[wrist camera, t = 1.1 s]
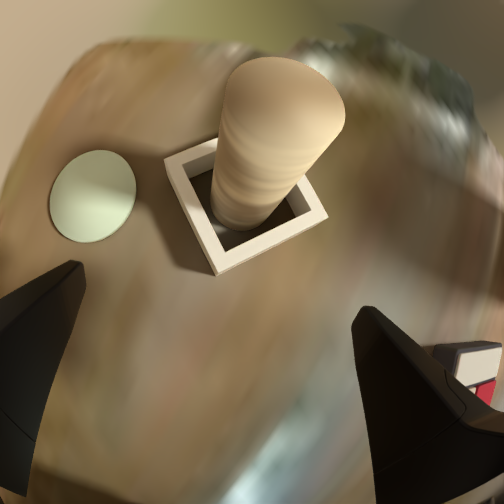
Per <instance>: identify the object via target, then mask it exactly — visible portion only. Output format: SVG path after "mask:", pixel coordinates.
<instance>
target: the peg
mask: <svg viewBox="0 0 504 504" xmlns="http://www.w3.org/2000/svg"><path fill="white" fill-rule="evenodd" d="M344 122H345V108H344V104H343V101H342V99H341V97H340V95H339V93H338V92H337V90H336V89H335V87H334V86H333V85H332V84H331V83H330V82H329V81H328V80H327V79H326V78H325V77H324V76H323V75H322V74H320V73H319V72H317V71H316V70H314V69H313V68H311V67H309V66H307V65H305V64H303V63H300V62H297V61H294V60H291V59H287V58H280V57H263V58H257V59H253V60H250V61H248V62H245V63H244V64H242V65H240V66H239V67H238V68H236V69H235V70H234V71H233V73H232V74H231V76H230V77H229V80H228V82H227V86H226V92H225V98H224V104H223V110H222V116H221V122H220V129H219V135H218V142H217V149H216V156H215V163H214V170H213V178H212V186H211V194H210V206H211V210H212V212H213V214H214V216H215V217H216V219H217V220H218V221H219V222H220V223H221V224H223V225H224V226H226V227H228V228H230V229H233V230H238V231H246V230H251V229H254V228H256V227H258V226H259V225H261V224H262V223H263V222H264V221H265V220H266V219H267V218H268V216H269V215H270V214H271V213H272V212H273V211H274V209H275V208H276V207H277V206H278V205H279V203H280V202H281V201H282V200H283V199H284V198H285V196H286V195H287V194H288V193H289V192H290V190H291V189H292V188H293V187H294V186H295V185H296V183H297V182H298V181H299V180H300V179H301V178H302V176H303V175H304V174H305V173H306V172H307V170H308V169H309V168H310V167H311V166H312V165H313V163H314V162H315V161H316V160H317V159H318V158H319V156H320V155H321V154H322V153H323V152H324V151H325V149H326V148H327V147H328V146H329V145H330V144H331V142H332V141H333V140H334V139H335V138H336V137H337V136H338V134H339V133H340V131H341V130H342V128H343V126H344Z"/></svg>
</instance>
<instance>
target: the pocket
mask: <svg viewBox="0 0 504 504" xmlns="http://www.w3.org/2000/svg"><path fill="white" fill-rule="evenodd" d="M217 142H218V138H216V139H213V140H210V141H207V142H205V143H202V144H200V145H197V146H195V147H192V148H190V149H187V150H185V151H182V152H180V153H177V154H175V155H173V156H170V157H168V158H166V159H164V163H165V167H166V172H167V176H168V178H169V181H170V183H171V185H172V187H173V189H174V191H175V194H176V196H177V198H178V200H179V202H180V204H181V206H182V209H183V211H184V213H185V215H186V217H187V219H188V221H189V223H190V225H191V227H192V229H193V231H194V234H195V236H196V238H197V240H198V242H199V244H200V246H201V248H202V250H203V252H204V254H205V256H206V258H207V260H208V262H209V264H210V266H211V268H212V270H213V272H214V274H215V276H218V275H220V274H222V273H224V272H226V271H228V270H230V269H231V268H233V267H235V266H237V265H239V264H241V263H243V262H245V261H247V260H249V259H251V258H253V257H255V256H257V255H259V254H261V253H263V252H265V251H267V250H269V249H271V248H273V247H275V246H277V245H279V244H281V243H283V242H285V241H287V240H289V239H291V238H293V237H295V236H296V235H298V234H300V233H302V232H304V231H306V230H308V229H310V228H312V227H314V226H316V225H317V224H319V223H320V222H322V221H323V220H325V219H326V218H328V215H327V213H326V211H325V209H324V208H323V206H322V204H321V202H320V200H319V199H318V197H317V195H316V193H315V191H314V190H313V188H312V186H311V184H310V183H309V181H308V179H307V178H306V176H305V174H304V175H303V176H302V178H301V179H300V180H299V181H298V182H297V183H296V185H295V186H294V187H293V188H292V189H291V190H290V192H289V193H288V194H287V195H286V196H285V198H286V200H287V201H288V203H289V205H290V207H291V209H292V211H293V212H294V214H295V216H296V218H295V219H292V220H290V221H288V222H286V223H284V224H282V225H280V226H278V227H276V228H274V229H272V230H270V231H268V232H266V233H264V234H262V235H260V236H257V237H255V238H253V239H251V240H249V241H247V242H245V243H243V244H241V245H239V246H237V247H235V248H233V249H231V250H229V251H227V252H225V251H224V249H223V247H222V245H221V243H220V241H219V239H218V237H217V235H216V233H215V231H214V229H213V227H212V225H211V223H210V221H209V219H208V217H207V215H206V213H205V211H204V209H203V207H202V205H201V203H200V201H199V199H198V197H197V195H196V193H195V191H194V189H193V187H192V185H191V183H190V181H189V178H192V177H194V176H196V175H199V174H201V173H203V172H206V171H208V170H211V169H213V168H214V163H215V156H216V149H217Z"/></svg>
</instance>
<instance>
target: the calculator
mask: <svg viewBox="0 0 504 504" xmlns="http://www.w3.org/2000/svg"><path fill="white" fill-rule="evenodd" d="M501 353H502V344H501V343H497V342H489V341H474V342H464V343H453V344H439V345H436V346H435V348H434V353H433V358H434V359H435V360H436V361H437V362H439V363H440V364H441V365H442V366H443V367H444V368H445V369H446V370H447V371H449V372H450V373H451V374H452V375H453V376H454V377H455V378H456V379H457V380H459V381H460V382H461V383H462V384H463V385H464V386H466V387H467V388H468V389H469V390H470V391H472V392H473V393H474V394H475V395H477V396H478V397H479V398H480V399H482V400H483V401H484V402H485V403H486V404H488V405H490V402H491V399H492V395H493V392H494V388H495V385H496V380H495V377H496V375H497V372H498V367H499V363H500V358H501Z"/></svg>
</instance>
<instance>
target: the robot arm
mask: <svg viewBox="0 0 504 504" xmlns="http://www.w3.org/2000/svg"><path fill="white" fill-rule="evenodd" d="M85 290H86V278H85V272H84V266H83V263H82V262H80V261H75V260H69V261H67V262H65V263H63V264H62V265H60V266H58V267H56V268H54V269H52V270H50V271H48V272H47V273H45V274H43V275H41V276H39V277H37V278H36V279H34V280H32V281H30V282H28V283H27V284H25V285H23V286H21V287H20V288H18V289H16V290H14V291H13V292H11V293H9V294H8V295H6V296H4V297H3V298H1V299H0V486H1V487H3V488H5V489H7V490H9V491H12V492H14V493H16V494H19V495H21V496H23V497H26V494H27V488H28V481H29V475H30V469H31V463H32V458H33V453H34V449H35V444H36V443H35V442H36V439H37V435H38V431H39V427H40V423H41V419H42V416H43V412H44V409H45V405H46V402H47V399H48V396H49V392H50V389H51V386H52V383H53V380H54V377H55V374H56V372H57V369H58V366H59V363H60V361H61V358H62V355H63V353H64V350H65V348H66V345H67V343H68V340H69V338H70V335H71V333H72V330H73V327H74V324H75V321H76V317H77V314H78V311H79V308H80V305H81V302H82V299H83V296H84V293H85ZM351 331H352V339H353V348H354V357H355V365H356V371H357V377H358V382H359V387H360V392H361V397H362V402H363V408H364V413H365V419H366V425H367V432H368V438H369V445H370V452H371V459H372V467H373V474H374V475H373V476H374V485H375V495H376V504H504V412H500V411H497V410H495V409H493V408H492V407H490V406H489V405H488V404H486V403H485V402H484V401H483V400H482V399H480V398H479V397H478V396H477V395H475V394H474V393H473V392H472V391H470V390H469V389H468V388H467V387H466V386H464V385H463V384H462V383H461V382H460V381H459V380H457V379H456V378H455V377H454V376H453V375H452V374H451V373H450V372H449V371H447V370H446V369H445V368H444V367H443V366H442V365H441V364H440V363H439V362H437V361H436V360H435V359H434V358H433V357H432V356H431V355H430V354H428V353H427V352H426V351H425V350H424V349H423V348H422V347H421V346H419V345H418V344H417V343H416V342H415V341H414V340H413V339H411V338H410V337H409V336H408V335H407V334H406V333H405V332H403V331H402V330H401V329H400V328H399V327H398V326H396V325H395V324H394V323H393V322H392V321H391V320H389V319H388V318H387V317H386V316H385V315H384V314H382V313H381V312H380V311H379V310H378V309H377V308H375V307H373V306H363V307H362V308H361V309H360V311H359V312H358V314H357V316H356V317H355V319H354V321H353V323H352V326H351ZM0 504H4V503H3V501H2V499H1V497H0Z"/></svg>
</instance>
